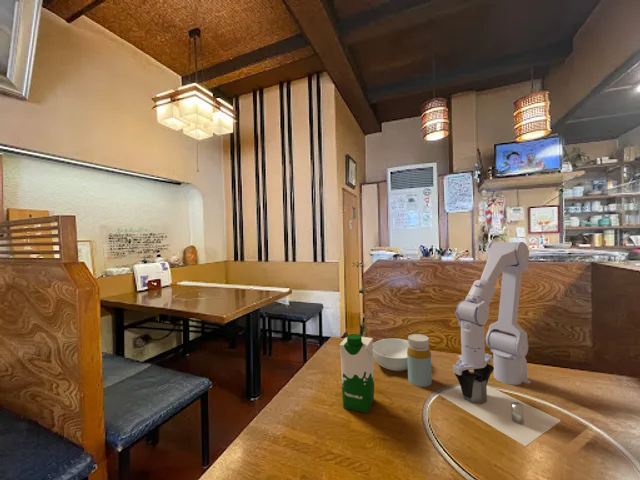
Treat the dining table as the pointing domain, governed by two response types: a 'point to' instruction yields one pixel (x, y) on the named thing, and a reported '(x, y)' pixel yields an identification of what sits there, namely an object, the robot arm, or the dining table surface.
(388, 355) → the cereal bowl
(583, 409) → the dining table surface
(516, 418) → the cylinder
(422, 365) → the bottle
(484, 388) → the gray faceted cup
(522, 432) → the board
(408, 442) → the dining table surface
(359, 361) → the milk carton
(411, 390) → the dining table surface
